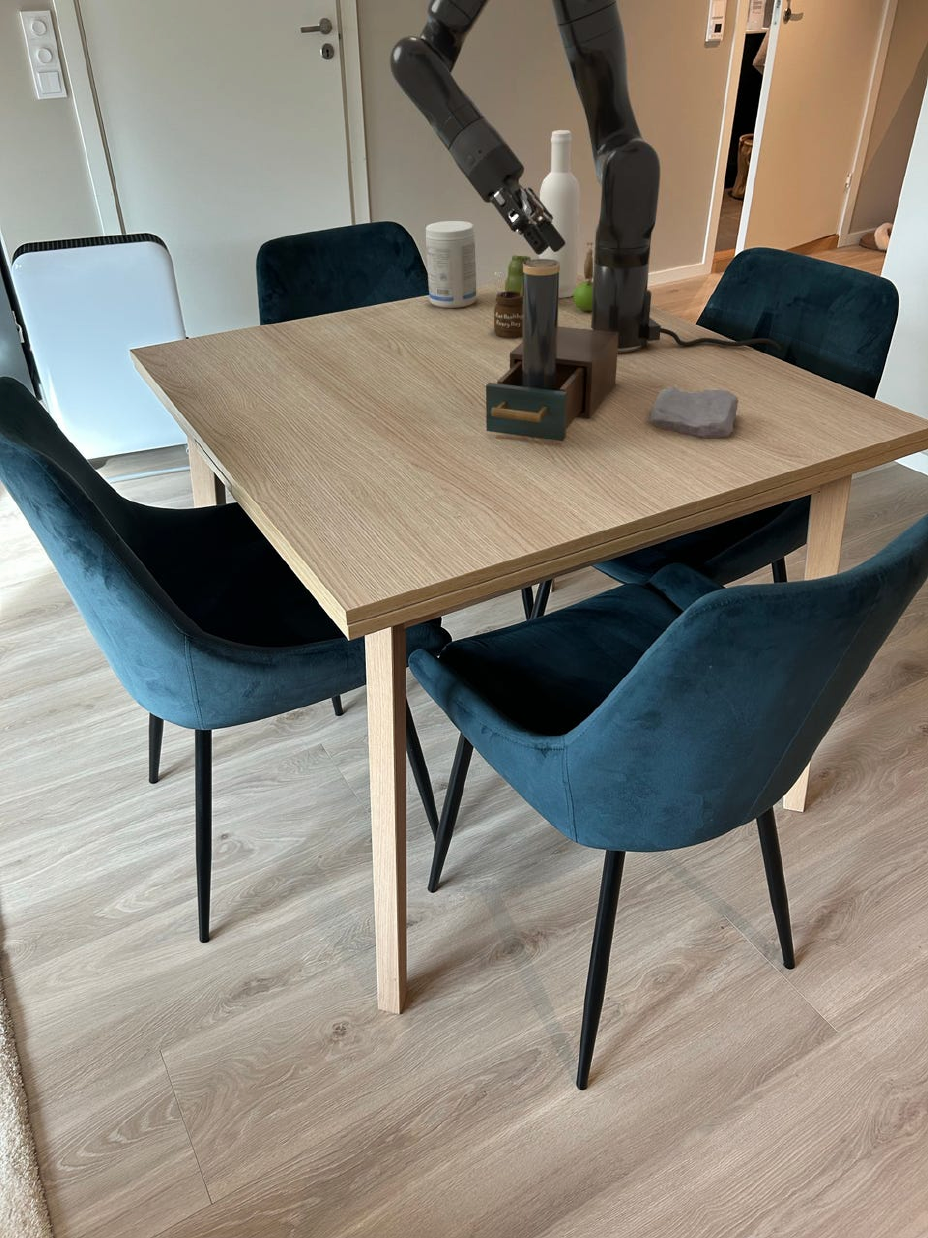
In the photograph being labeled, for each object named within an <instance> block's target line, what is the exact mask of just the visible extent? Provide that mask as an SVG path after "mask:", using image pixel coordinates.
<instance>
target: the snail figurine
mask: <svg viewBox="0 0 928 1238" xmlns="http://www.w3.org/2000/svg"><path fill="white" fill-rule="evenodd" d="M593 244H594V242H592V241H590V242H589V241H587V242H586V245H587V246H589V245H590V248H589V247H587V249H586V251H585V255H586V256H585V259H584V265H583V275H584V282H581V283H580V284H579V285H578V284H577V288H576V289H575V291H574V295H573V296H572V299H573V302H574V304H575V307H577V308H578V309H579V310H580V311H583V312H592V294H593V273H594V256H593V254H594V252H593V249H592V245H593Z"/></svg>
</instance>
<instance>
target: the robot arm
mask: <svg viewBox="0 0 928 1238" xmlns="http://www.w3.org/2000/svg"><path fill="white" fill-rule="evenodd" d="M490 1H491V0H429V2H428V4H427V7H426V21H425V24H424V27H423V29H422V31H421V33H420V35H407V36H403V37H402V38H400V39H398V40H397V41H396V42H395V44H394V45H393V47H392V49H391V51H390V55H389V70H390V74H391V76H392V78H393V80H394V81H395V83H396V84H397V86H398V87H399V88H400V89H401V91H402V92H403V93H404V94H405V96H407V98H408V99H409V100H410V101H411V102H412V104H413V105H414V106H415V107H416V108H417V110H418V111H419V112H420V113H421V114H422V115H423V117H424V118H425V119H426V120H427V121H428V124H429V126H430V127H431V128H432V130H433V131H434V133H435V134H436V136H437V137H438V138H439V140H440V141H441V143H442V144H443V145H444V147H445V148H446V149H447V151H448V152H449V153H450V156H451V157H452V158H453V160H454V162H455V163H456V166H457V167H458V168H459V170H460V171H461V172H462V174H463V175H464V176H465V178H466V179H467V181H468V182H469V183H470V185H471V186H472V187H473V188H474V190H475V191H476V193H477V194H478V196H480V198H481V199H482V200H483V202H484V203H486V204H489V203H491V204H492V205H493V207H495V209H496V210H497V211H498V213H499V215H500V216H501V217H502V219H503V220H504V222H505V223H506V224H507V226H508V227H509V229H510V230H511V231H512V232H513V233H517V234H518V235H519V236H522V237H523V239H525V241H526V242H527V243H528V245H529V246H530V247H531V249H532V250H533V252H534V253H535V254H536V255H537V256H539V254H542V253H543V252H544V251H545V250H546V249H547V248H548V247H550V248H551V249H552V251H553V252H557V251H559V250H560V249H561V248H562V247H563V246H564V245H565V240H564V239H563V238H562V236H561V235H560V234H559V232H558V231H557V230H556V228H555V227H554V226H553V224H551V223H552V219H553V217H552V214H550V213H549V211H548V210H547V209H546V207H545V206H544V205H543V203H542V202H541V201H540V197H538V195H537V194H536V193H535V192H534V189H532V188H531V187H530V186H529V187H525V188H524V187H523V186H522V185H521V184H520V182H519V181H520V178H522V176H523V175H524V172H525V166H524V165H523V163H522V162H521V160H520V159H519V157H517V155H516V154H515V152H514V151H513V149H512V148H511V146H509V144H508V143H507V141H506V140H505V139H504V137H503V136H502V135H501V133H500V132H499V131H498V130H497V128H496V127H495V126H494V125H493V124H492V123H491V122H490V121H489V120H488V119H487V118H486V116H485V114H483V111H481V109H480V107H478V105H477V104H476V103H475V101H473V99H472V97H470V96H469V95H468V94H467V92H465V90H464V89H462V87H461V86H460V85H459V84H458V82H457V81H456V80H455V78H454V76H453V75H452V72H453V71H454V68H455V66H456V63H457V61H458V59H459V57H460V54H461V51H462V49H463V47H464V44H465V42H466V39H467V38H468V36H469V34H470V32H471V31H473V28H474V26H475V25H476V24H477V21H478V20H479V19H480V17H481V16H482V14H483V12H484V11H485V9H486V7H487V6H488V4H489V3H490ZM550 2H551V7H552V11H553V15H554V20H555V24H556V28H557V32H558V35H559V38H560V39H559V40H560V42H561V46H562V49H563V53H564V56H565V59H566V62H567V65H568V68H569V72H570V74H571V77H572V80H573V84H574V87H575V89H576V92H577V94H578V97H579V100H580V103H581V105H582V109H583V112H584V115H585V119H586V123H587V131H588V134H589V140H590V145H591V153H592V159H593V160H592V161H593V166H594V171H595V177H596V179H597V181H598V183H599V185H600V186H601V195H600V210H599V211H600V212H599V219H598V223H597V224H596V226H595V235H594V252H593V254H594V255H593V278H592V282H593V294H592V310H591V315H590V316H591V319H590V326H589V327H588V329H590V330H600V331H610V332H619V335H618V351H617V354H623V353H632V352H636V351H639V350H640V349H646V348H648V342H652V341H653V342H654V341H660V339H661V334H664V335H667V336H670V337H671V338H672V339H674V341H675V343H676V344H677V345H678V346H681V347H684V348H689V347H693V346H696V345H700V344H705V343H706V344H707V343H708V344H714V345H720V346H723V347H732V348H733V347H737V348H738V347H745V346H750V345H757V344H765V345H769V346H771V347H773V348H774V349H775V350H779V351H781V350H782V347H781V346H780V345H779V344H778V343H777V342H776V341H774V340H771V339H770V338H760V337H759V338H753V339H748V340H747V339H746V340H741V341H730V340H729V341H728V340H723V339H718V338H714V337H713V338H712V337H700V338H696V339H694V340H691V341H683V340H682V339H680V337H679V335H678V334H677V333H676V332H675V331H672V330H670V329H668V328H663V327H662V326H661V324H660V323H658V322H656V321H655V320H654V319H652V318H651V317H650V316H651V304H652V302H651V301H652V292H651V290H650V289H648V284H649V271H650V270H649V269H650V258H651V257H650V256H651V243H652V236H653V231H654V229H655V225H656V221H657V214H658V206H659V195H660V186H661V185H660V184H661V162H660V157H659V154H658V153H657V151H656V149H655V148H654V147H653V146H652V145H651V144H650V143H649V142H647V141H646V140H644V138H643V136H642V133H641V131H640V127H639V124H638V122H637V119H636V114H635V112H634V109H633V104H632V102H631V98H630V93H629V84H628V83H629V82H628V56H627V43H626V36H625V30H624V24H623V21H622V15H621V11H620V8H619V3H618V0H550ZM540 217H542V219H541V220H540V221H539V218H540Z"/></svg>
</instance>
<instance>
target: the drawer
mask: <svg viewBox="0 0 928 1238" xmlns="http://www.w3.org/2000/svg"><path fill="white" fill-rule="evenodd" d="M586 376H587V367H583V366H574V365H565V364H556V391H555V390H547V389H539V388H530V387H522V360H519V361H518V362H517V363H516V364H515V365H514V366H513V367H512V368H511V369H510V368H509V369H508V370H507V371H506V372H505V373H504V374H503V375H502V376H501V377H500V378H499V379H498V380H497V381H496V382H488V383H487V384H486V385H485V412H486V413H485V415H486V416H485V417H486V419H485V420H486V432H489V433H496V434H504V435H511V436H520V437H527V438H533V439H542V440H548V441H555V442H564V441H565V440H566V437H567V435H566V434H567V429H568V428H569V426H571V424H572V423H573V421H574V420H575V419H576V418H577V417H576V416H577V415H578V414H579V413H580V411H581V410H582V409H583V408H584V406H585V398H586Z"/></svg>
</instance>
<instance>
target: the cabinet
mask: <svg viewBox="0 0 928 1238" xmlns="http://www.w3.org/2000/svg"><path fill="white" fill-rule="evenodd" d="M618 335H619V332H610V331H600V330H590V329H589V328H588V329H587V328H580V327H579V328H577V327H567V326H558V328H557V364H565V365H574V366H583V367H587V376H586V398H585V406H584V408H583V409H582V410H581V411H580V413H579V414H578V415H577V416H576V418H579V419H586V420H590V419H591V418H592V416H593V415H594V414H595V413H596V411H597V410H598V409H599V407H601V405H602V403H603V402H604V401H605V400H606V398H608V396H609V395H610V394H611V392H612V391H613V389H614V388H615V387H616V381H617V366H618V365H617V363H618V353H617V351H618ZM519 360H522V342H520V343H519V344H518V345H517V346H516V347H515V348H513V350H512V351H510V353H509V370H510V369H511V368H512V367H513V366H514V365H515V364H516V363H517V362H518V361H519Z"/></svg>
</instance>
